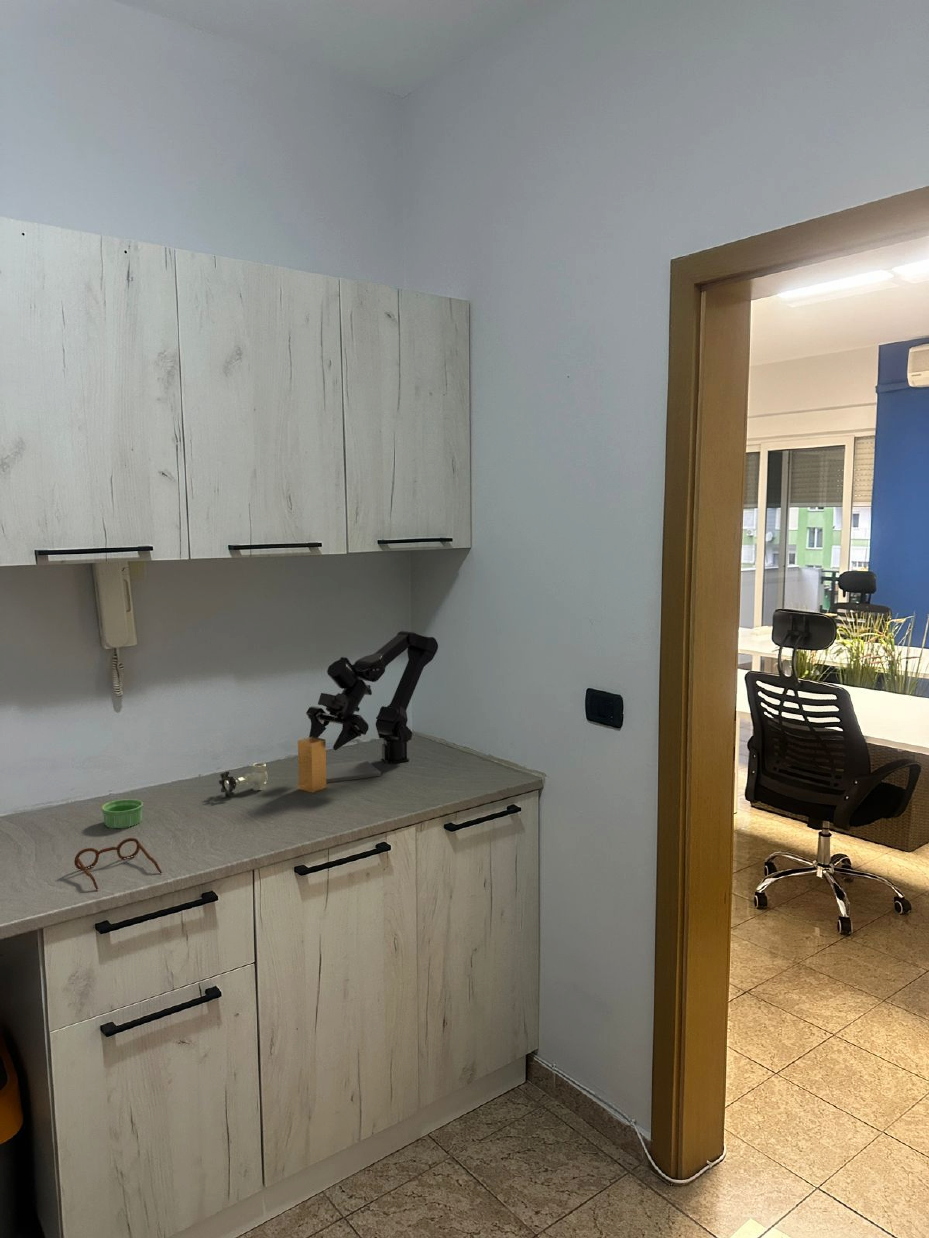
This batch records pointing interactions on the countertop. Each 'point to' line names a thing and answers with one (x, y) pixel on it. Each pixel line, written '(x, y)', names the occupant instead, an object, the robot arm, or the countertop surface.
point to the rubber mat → (350, 771)
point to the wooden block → (312, 764)
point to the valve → (245, 779)
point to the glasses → (139, 846)
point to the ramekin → (122, 813)
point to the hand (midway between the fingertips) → (321, 746)
